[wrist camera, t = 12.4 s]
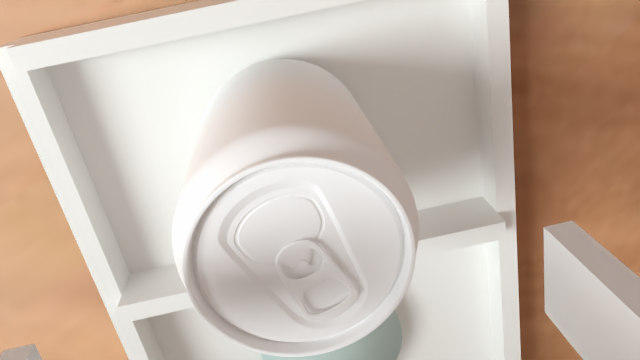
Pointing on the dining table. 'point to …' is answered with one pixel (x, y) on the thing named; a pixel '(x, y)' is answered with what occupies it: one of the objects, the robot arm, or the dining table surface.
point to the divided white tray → (186, 118)
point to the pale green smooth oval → (364, 345)
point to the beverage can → (292, 215)
